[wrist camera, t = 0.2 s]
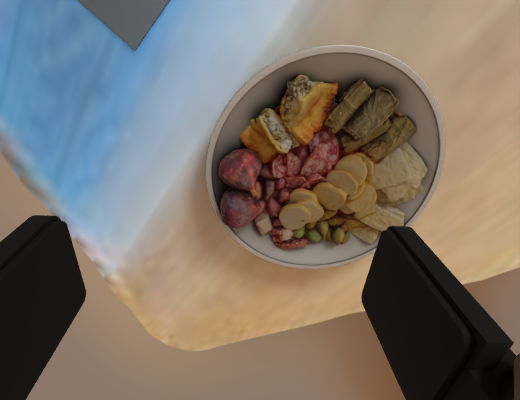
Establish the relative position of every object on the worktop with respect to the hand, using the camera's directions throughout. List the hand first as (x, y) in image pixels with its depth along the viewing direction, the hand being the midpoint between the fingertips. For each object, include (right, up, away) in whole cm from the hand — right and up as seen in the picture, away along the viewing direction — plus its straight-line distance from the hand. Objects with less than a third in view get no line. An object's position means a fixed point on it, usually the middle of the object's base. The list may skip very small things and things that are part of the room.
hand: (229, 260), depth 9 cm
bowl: (+9, +7, +33) cm, 35 cm away
